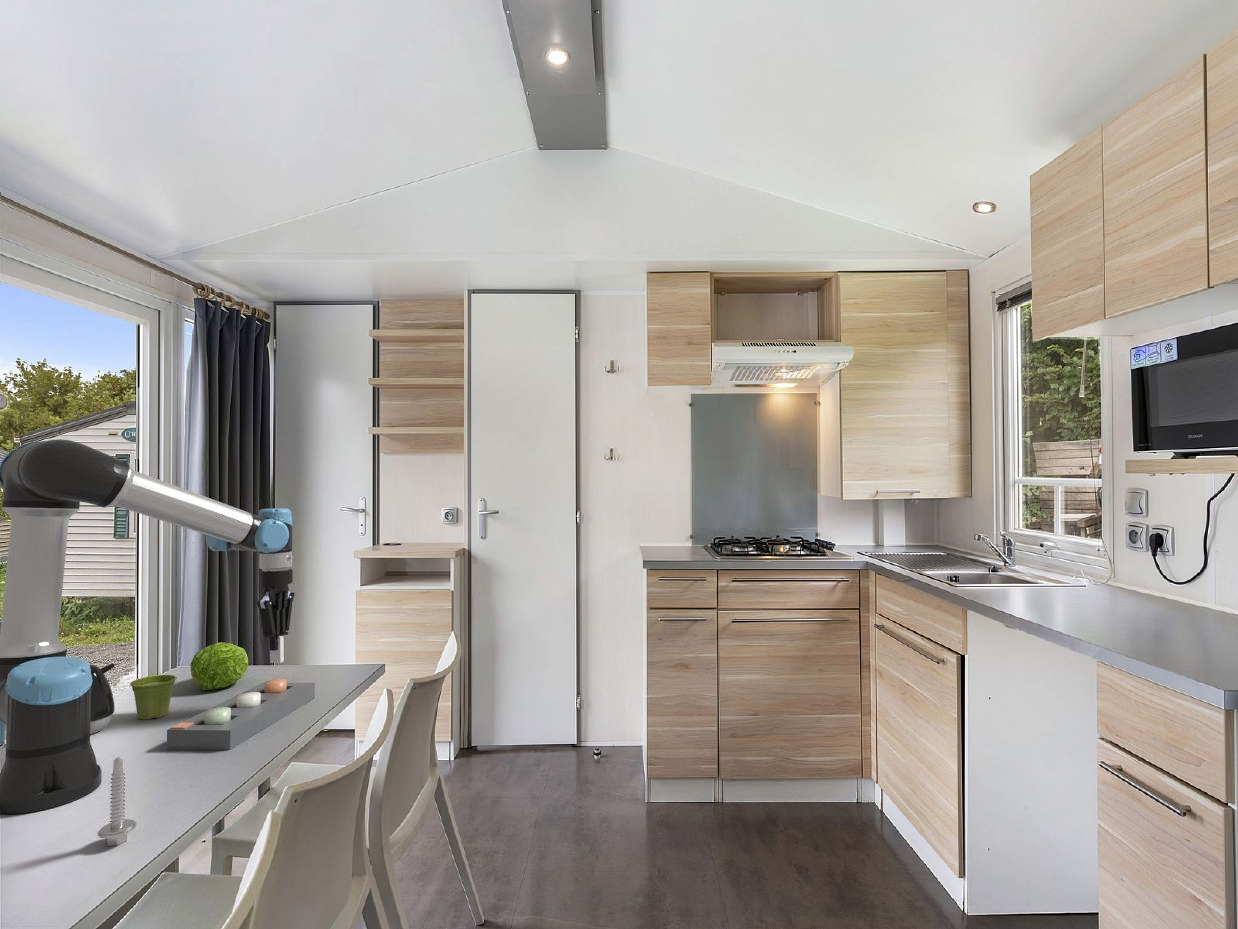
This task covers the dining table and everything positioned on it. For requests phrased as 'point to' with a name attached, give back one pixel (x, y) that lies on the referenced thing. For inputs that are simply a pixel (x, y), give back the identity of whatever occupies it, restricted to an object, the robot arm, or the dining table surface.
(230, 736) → the button console
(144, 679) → the plant pot
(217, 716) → the sage button
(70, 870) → the dining table surface
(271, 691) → the peach rounded knob
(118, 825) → the screw
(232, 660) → the lettuce
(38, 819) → the dining table surface
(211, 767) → the dining table surface
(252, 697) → the cream button
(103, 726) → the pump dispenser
